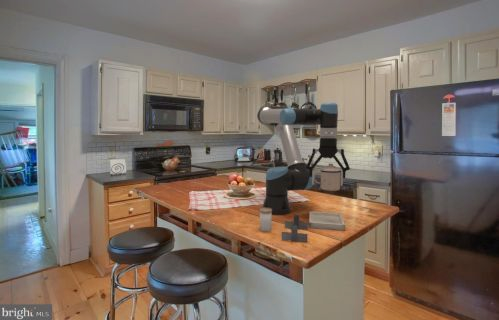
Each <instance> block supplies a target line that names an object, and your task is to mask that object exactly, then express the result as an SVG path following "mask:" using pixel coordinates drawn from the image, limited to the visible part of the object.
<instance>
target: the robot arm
mask: <svg viewBox="0 0 499 320" xmlns="http://www.w3.org/2000/svg"><path fill="white" fill-rule="evenodd" d="M338 107H339V104H337V103H336V102H324V103H321V104H320V108H316V109H315V108H313V109H311V108H293V107H291V106H275V105H272V106H271V105H267V106H263V107H261V108H259V110H258V112H257V114H256V115H257V120H258V122H259V123H260V124H262V125H265V126H274V127H275V130H276V131H277V132H278V134H279V137H280V141H281V144H282V149H283V152H284V156H285V159H286V163H287V166H273V167H270V168H268V169H267V171H266V174H265V198H264V201H263V204H262V208H271V209H272V215H286V214H287V215H288V214H289V213H291V210H292V209H291V207H292V206H291V204H290V201H289V198H288V192H291V191H292V192H293V191H304V190H309V189H311V188H312V187H313V186H314V185H315V180H314V175H315V170H314V169H315V167H316V166H317V165H318V164H319V162H320V161H321V160H323V159H332V158H333V159H334V161H335V162H336V163H337V165H338V166H339V167H340V170H341V173H340V187H342V186H343V185H344V184H343V183H344V182H343V179H346V172H347V171H350V170H351V168H350V165H349V164H348V160H347V158H346V155H345V149H344V148H339V149H338V145H337V144H338V139H337V136H338V122H339V121H338V118H339V109H338ZM296 125H297V126H298V125H299V126H319V137H320V138H319V146H318V147H319V148H315V147H314V148H312V153H311V155H310V156H309V157H310V158H309V160H308V161H307V163H306V162H304V161H303V158H302V155H301V150H300V148H299V144H298V141H297V137H296V134H295V130H294V127H295V126H296ZM318 152H319V154H320V155H319V156H318V157H317V158H316V160H315V161H314V162H313V160H314V157H315V154H317V153H318ZM337 153H339V154H340V155H341V159H342V161H343V163H344V165H345V167H344V165H343V164H342V163H341V161H340V160H339V158H338V157H337V156H336V154H337ZM322 158H323V159H322ZM312 162H313V164H312ZM311 164H312V165H311Z"/></svg>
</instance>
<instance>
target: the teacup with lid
mask: <svg viewBox="0 0 499 320" xmlns="http://www.w3.org/2000/svg"><path fill="white" fill-rule="evenodd" d="M341 171H342V169H341V168H338V167H336V166H335V165H334V164H333V163H328V165H326V166H325V167H322V168H321V169H320V172H316V173H314V183H315V182H316V183H317V184H319V185H320V189H322V190H324V191H330V192H333V191H339V190H340V189H341V185H340V174H341ZM317 175H320V181H318V180H317V179H316V176H317Z"/></svg>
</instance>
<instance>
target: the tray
mask: <svg viewBox="0 0 499 320" xmlns="http://www.w3.org/2000/svg"><path fill="white" fill-rule="evenodd" d="M315 228H316V230H317V229H318V230H332V231H342V232H344V231H345V230H346V223H345V222H344V218H343V216H342V213H341V212H326V211H313V210H312V211H310V210H309V221H308V229H315Z"/></svg>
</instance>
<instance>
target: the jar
mask: <svg viewBox="0 0 499 320" xmlns="http://www.w3.org/2000/svg"><path fill="white" fill-rule="evenodd" d="M272 215H273V214H272V209H271V208H263V207H260V208H259V230H260V231H261V232H270V230H271V231H272V218H273V217H272Z"/></svg>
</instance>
